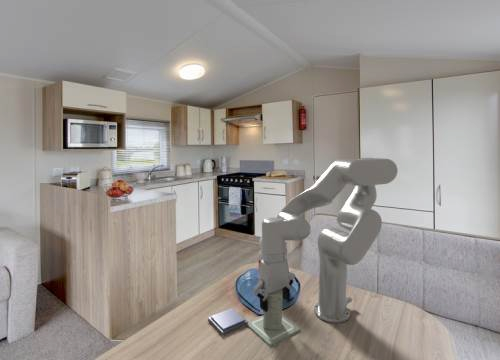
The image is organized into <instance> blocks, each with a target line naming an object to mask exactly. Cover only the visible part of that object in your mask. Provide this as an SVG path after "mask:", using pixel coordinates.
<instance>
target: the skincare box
mask: <svg viewBox="0 0 500 360" xmlns="http://www.w3.org/2000/svg"><path fill="white" fill-rule="evenodd" d="M264 294H265V291H264V293H263V295H264ZM266 300H267V301H268V311H267V312H265V311H264V310H263V315H262V316H263V328H267V329H276V330H281V329H282V316H283V290H282V288H281V289H279V290H277V291H274V292H272V293H269V295H268V296H267V298H266Z"/></svg>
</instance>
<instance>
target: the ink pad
mask: <svg viewBox="0 0 500 360" xmlns="http://www.w3.org/2000/svg"><path fill="white" fill-rule="evenodd" d="M248 322H249V321H248V320H247V319H246V318H245V317H244V316H242V315H241V314H240V313H239V312H238V311H236V310H235V309H234V308H233V307H230V308H228V309H225V310H223V311H219V312H218V313H215V314H213V315H210V316H208V323H210V324H211V325H212V326H213V327H214V329H216V331H217V332H218V333H219V334H220V335H221V336H222V337H223V336H225V335H228V334H230V333H233V332H235V331H237V330H240V329H242V328H245V327H246V326H247V323H248Z"/></svg>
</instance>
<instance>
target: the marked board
mask: <svg viewBox="0 0 500 360" xmlns="http://www.w3.org/2000/svg"><path fill="white" fill-rule="evenodd" d="M246 326H247V327H248V328H249V329H250V330H252V332H253V333H254V334H256V335H257V336H258V337H259V338H260V339H261V340H263V341H264V342H265V343H266V344H267V345H268V346H270V347H271V346H273V345H275V344H277V343H279V342H281V341H282V340H285V339H287V338H288V337H291V336H293V335H294V334H297V333H298V332H300V331H301V328H300V327H299V326H297V325H296V324H295V323H294V322H292V321H290V320H289V319H288V318H286V317H285V316H284V315H282V329H281V330H276V329H267V328H263V315H261V316H258V317H257V318H254V319H252V320H250V321H248V323H247V325H246Z"/></svg>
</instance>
